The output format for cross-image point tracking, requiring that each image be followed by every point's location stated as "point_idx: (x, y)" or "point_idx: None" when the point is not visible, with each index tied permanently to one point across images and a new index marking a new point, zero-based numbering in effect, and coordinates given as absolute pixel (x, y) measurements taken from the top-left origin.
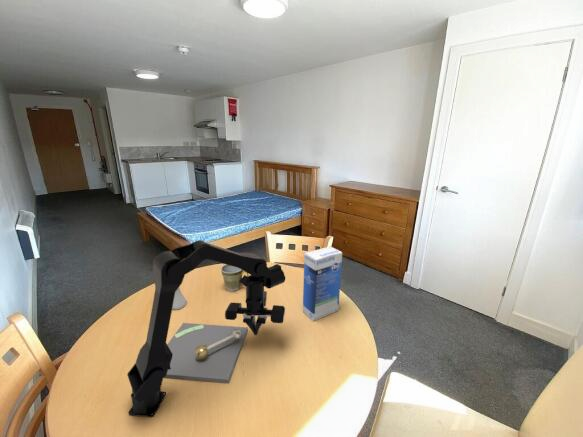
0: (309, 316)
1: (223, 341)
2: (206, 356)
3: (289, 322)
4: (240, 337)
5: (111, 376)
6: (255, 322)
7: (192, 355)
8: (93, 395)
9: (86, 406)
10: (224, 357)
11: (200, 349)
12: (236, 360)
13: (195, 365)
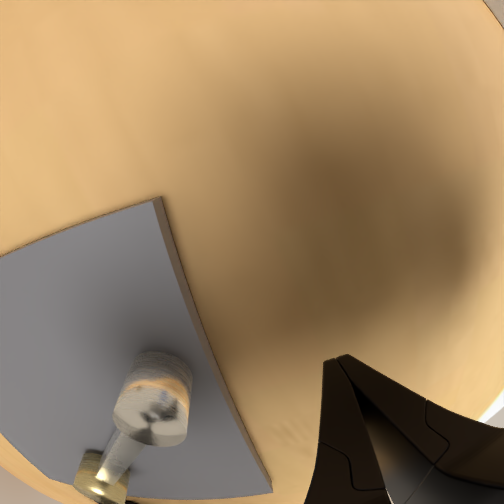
0: (502, 14)
1: (130, 460)
2: (128, 480)
3: (444, 34)
4: (190, 389)
5: (13, 460)
6: (372, 451)
7: (71, 454)
8: (39, 483)
9: (54, 493)
10: (192, 460)
11: (99, 497)
12: (249, 439)
13: None
